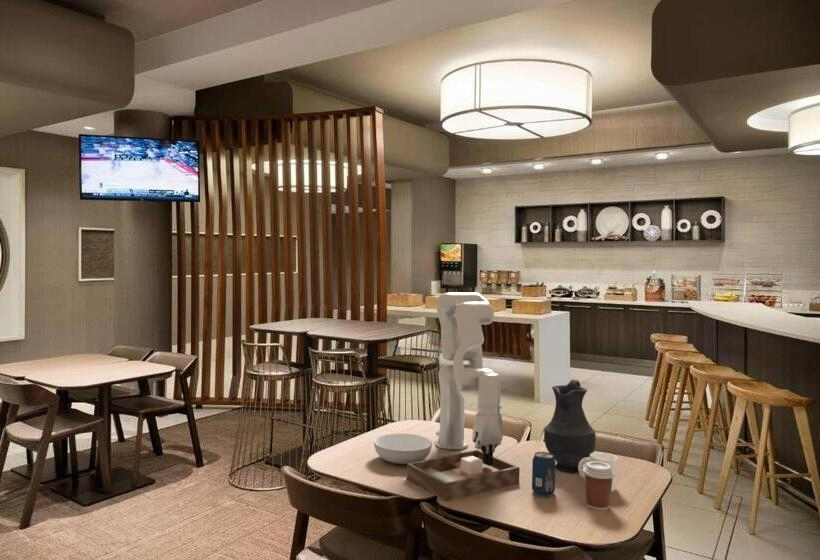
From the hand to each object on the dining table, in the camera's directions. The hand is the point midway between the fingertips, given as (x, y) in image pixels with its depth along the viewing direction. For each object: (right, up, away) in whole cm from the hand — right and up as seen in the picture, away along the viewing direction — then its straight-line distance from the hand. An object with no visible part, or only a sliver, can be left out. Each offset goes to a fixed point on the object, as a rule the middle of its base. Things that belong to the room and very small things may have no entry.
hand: (487, 464), depth 193 cm
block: (-6, -1, -4) cm, 7 cm away
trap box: (-9, -4, -6) cm, 11 cm away
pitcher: (+30, -4, +9) cm, 32 cm away
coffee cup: (+29, -5, -24) cm, 38 cm away
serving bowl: (-29, -3, +14) cm, 32 cm away
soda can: (+15, -5, -15) cm, 22 cm away
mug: (+34, -5, -9) cm, 35 cm away
